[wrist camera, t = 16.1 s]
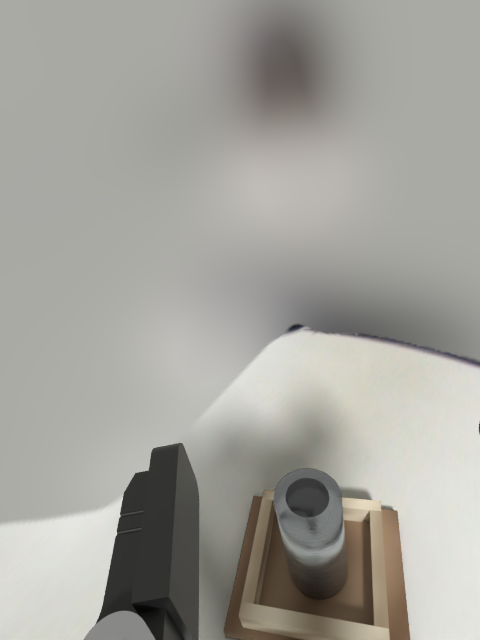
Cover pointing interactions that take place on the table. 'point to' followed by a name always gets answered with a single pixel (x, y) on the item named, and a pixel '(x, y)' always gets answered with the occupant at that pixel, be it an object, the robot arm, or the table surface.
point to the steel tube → (312, 532)
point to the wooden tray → (329, 614)
